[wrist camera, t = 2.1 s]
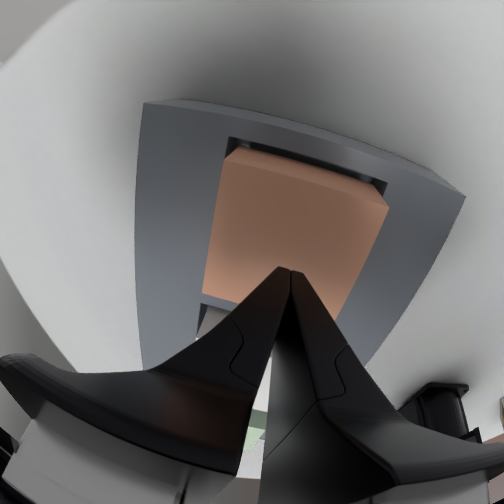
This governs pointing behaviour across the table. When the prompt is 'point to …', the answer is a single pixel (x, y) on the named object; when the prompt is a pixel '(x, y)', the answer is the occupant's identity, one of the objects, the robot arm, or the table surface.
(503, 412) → the coffee box
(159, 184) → the keypad console
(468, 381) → the table surface
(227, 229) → the terracotta key
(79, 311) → the table surface
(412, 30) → the table surface
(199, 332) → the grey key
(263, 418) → the sage key
